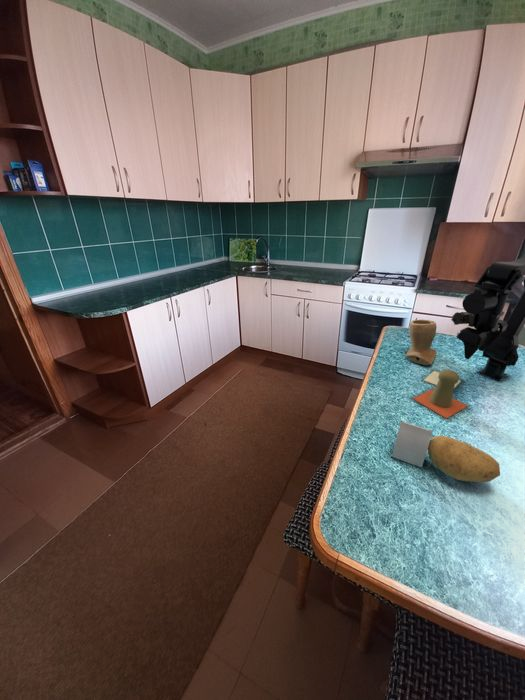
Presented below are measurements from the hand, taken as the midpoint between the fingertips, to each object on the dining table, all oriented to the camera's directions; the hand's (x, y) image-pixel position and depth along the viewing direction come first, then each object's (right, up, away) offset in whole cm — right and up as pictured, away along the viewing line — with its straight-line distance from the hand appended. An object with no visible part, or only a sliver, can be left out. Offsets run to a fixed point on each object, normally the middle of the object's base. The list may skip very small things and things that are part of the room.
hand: (473, 354), depth 92 cm
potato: (-22, -28, -24) cm, 42 cm away
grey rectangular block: (-31, -26, -19) cm, 45 cm away
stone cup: (-4, -1, +26) cm, 26 cm away
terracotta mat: (-11, -15, -1) cm, 19 cm away
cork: (-11, -15, -1) cm, 19 cm away
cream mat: (-4, -10, +10) cm, 14 cm away
